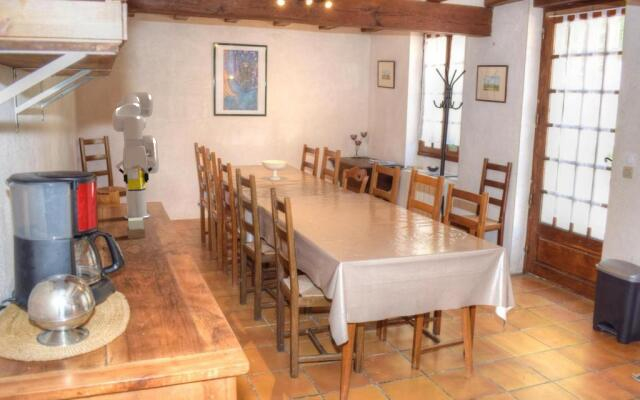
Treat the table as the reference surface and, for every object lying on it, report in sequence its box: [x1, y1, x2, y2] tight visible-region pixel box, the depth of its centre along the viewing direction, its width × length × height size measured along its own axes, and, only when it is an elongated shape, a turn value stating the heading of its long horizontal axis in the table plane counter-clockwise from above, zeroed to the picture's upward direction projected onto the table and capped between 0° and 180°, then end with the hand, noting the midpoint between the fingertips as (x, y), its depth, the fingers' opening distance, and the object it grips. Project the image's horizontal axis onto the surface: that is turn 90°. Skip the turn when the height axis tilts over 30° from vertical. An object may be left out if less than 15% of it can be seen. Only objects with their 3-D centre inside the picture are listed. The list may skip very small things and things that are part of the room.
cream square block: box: [127, 217, 145, 230], centre depth 256 cm, size 6×6×4 cm
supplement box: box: [127, 166, 147, 191], centre depth 260 cm, size 6×6×11 cm
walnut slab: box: [126, 226, 146, 240], centre depth 256 cm, size 7×7×4 cm
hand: (136, 182), depth 260 cm, fingers closed on supplement box, 8 cm apart
